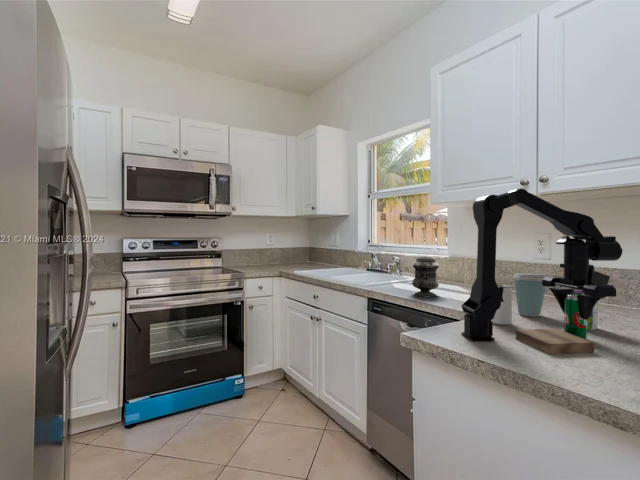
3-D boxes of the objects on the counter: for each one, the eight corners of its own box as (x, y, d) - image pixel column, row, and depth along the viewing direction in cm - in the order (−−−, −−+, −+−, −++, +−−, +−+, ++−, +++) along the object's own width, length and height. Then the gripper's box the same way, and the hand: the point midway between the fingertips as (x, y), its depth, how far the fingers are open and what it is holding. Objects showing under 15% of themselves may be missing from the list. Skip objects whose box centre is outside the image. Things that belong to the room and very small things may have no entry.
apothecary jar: (435, 298, 151) (436, 258, 151) (408, 296, 157) (409, 257, 157) (441, 294, 162) (441, 256, 161) (415, 292, 168) (415, 255, 167)
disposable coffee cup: (505, 312, 125) (506, 271, 125) (527, 310, 129) (527, 270, 128) (532, 319, 115) (533, 275, 115) (554, 316, 119) (555, 273, 118)
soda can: (564, 334, 99) (565, 292, 99) (586, 337, 96) (587, 294, 95) (563, 338, 95) (563, 295, 95) (586, 341, 92) (587, 297, 92)
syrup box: (569, 327, 106) (569, 280, 106) (576, 324, 109) (576, 279, 109) (591, 331, 101) (592, 282, 101) (598, 328, 105) (599, 281, 104)
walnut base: (548, 354, 83) (548, 343, 83) (515, 338, 95) (515, 329, 95) (593, 352, 84) (594, 342, 84) (555, 337, 96) (555, 328, 96)
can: (484, 321, 113) (485, 285, 113) (498, 319, 116) (499, 284, 115) (502, 326, 107) (502, 288, 107) (516, 324, 110) (516, 287, 109)
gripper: (636, 263, 86) (635, 324, 87) (574, 257, 105) (574, 308, 105) (596, 264, 85) (595, 326, 86) (541, 258, 104) (540, 309, 104)
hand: (575, 316), depth 95 cm, fingers open, 6 cm apart
